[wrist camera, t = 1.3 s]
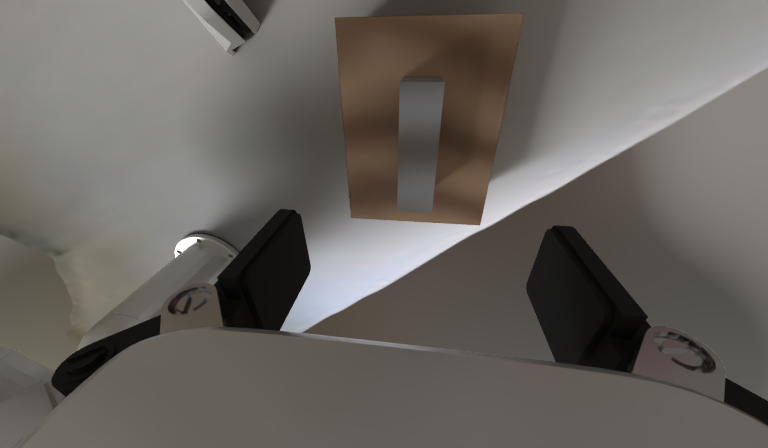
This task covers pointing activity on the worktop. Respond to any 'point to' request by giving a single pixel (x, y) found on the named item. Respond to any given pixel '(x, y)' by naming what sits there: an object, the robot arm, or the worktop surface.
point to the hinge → (225, 20)
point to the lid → (423, 112)
